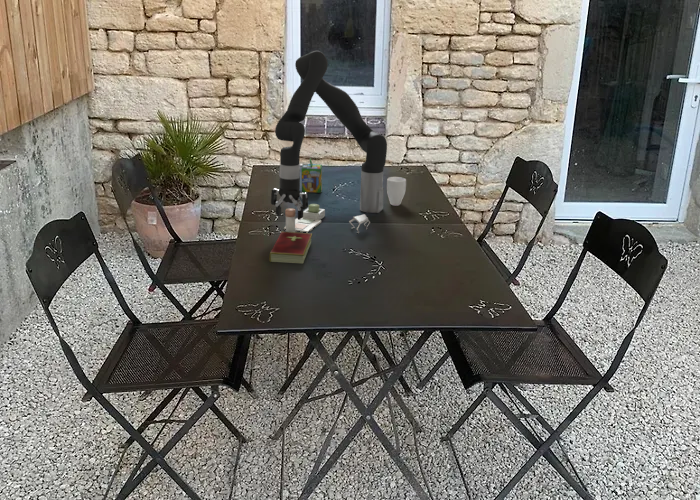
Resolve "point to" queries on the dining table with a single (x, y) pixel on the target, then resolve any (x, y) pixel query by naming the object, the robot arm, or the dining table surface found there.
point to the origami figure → (360, 220)
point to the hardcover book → (291, 247)
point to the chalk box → (312, 178)
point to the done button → (314, 208)
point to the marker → (290, 220)
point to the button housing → (314, 214)
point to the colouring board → (305, 224)
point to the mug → (396, 189)
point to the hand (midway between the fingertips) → (289, 217)
